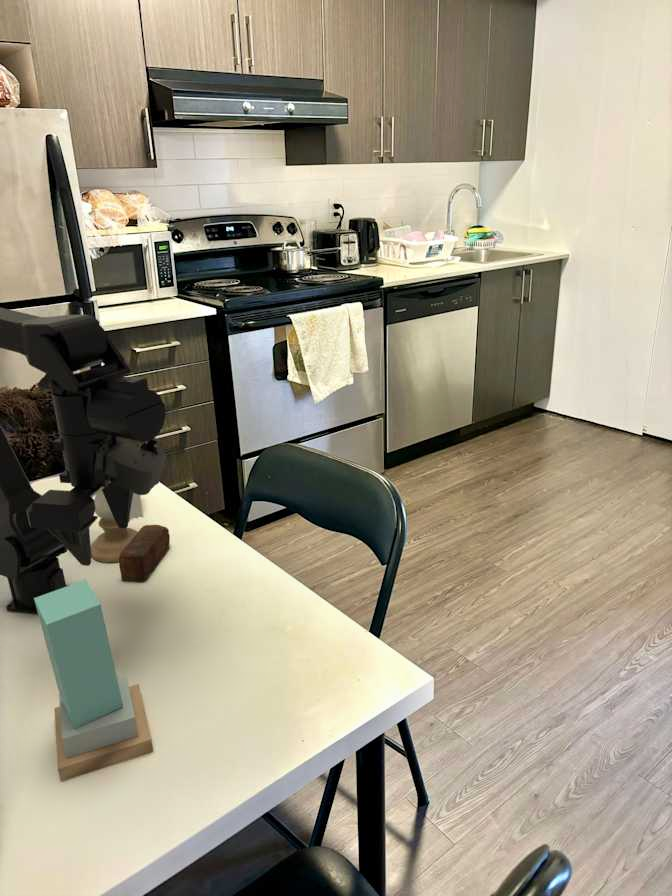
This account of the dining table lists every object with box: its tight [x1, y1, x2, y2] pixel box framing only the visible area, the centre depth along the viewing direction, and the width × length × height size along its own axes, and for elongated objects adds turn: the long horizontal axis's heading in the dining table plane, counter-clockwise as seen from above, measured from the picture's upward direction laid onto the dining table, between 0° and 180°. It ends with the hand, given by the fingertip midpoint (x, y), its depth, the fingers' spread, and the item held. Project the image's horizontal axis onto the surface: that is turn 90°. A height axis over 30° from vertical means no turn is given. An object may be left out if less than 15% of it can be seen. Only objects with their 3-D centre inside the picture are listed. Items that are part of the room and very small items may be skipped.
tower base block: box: [54, 683, 154, 782], centre depth 72 cm, size 9×9×2 cm
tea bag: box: [129, 493, 144, 520], centre depth 120 cm, size 4×7×10 cm, turn 17°
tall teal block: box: [34, 579, 123, 729], centre depth 68 cm, size 5×5×13 cm
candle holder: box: [90, 490, 138, 563], centre depth 105 cm, size 9×9×20 cm
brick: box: [117, 524, 171, 583], centre depth 104 cm, size 11×4×5 cm, turn 173°
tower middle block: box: [58, 674, 138, 759], centre depth 71 cm, size 7×7×2 cm
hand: (105, 545), depth 84 cm, fingers open, 9 cm apart
